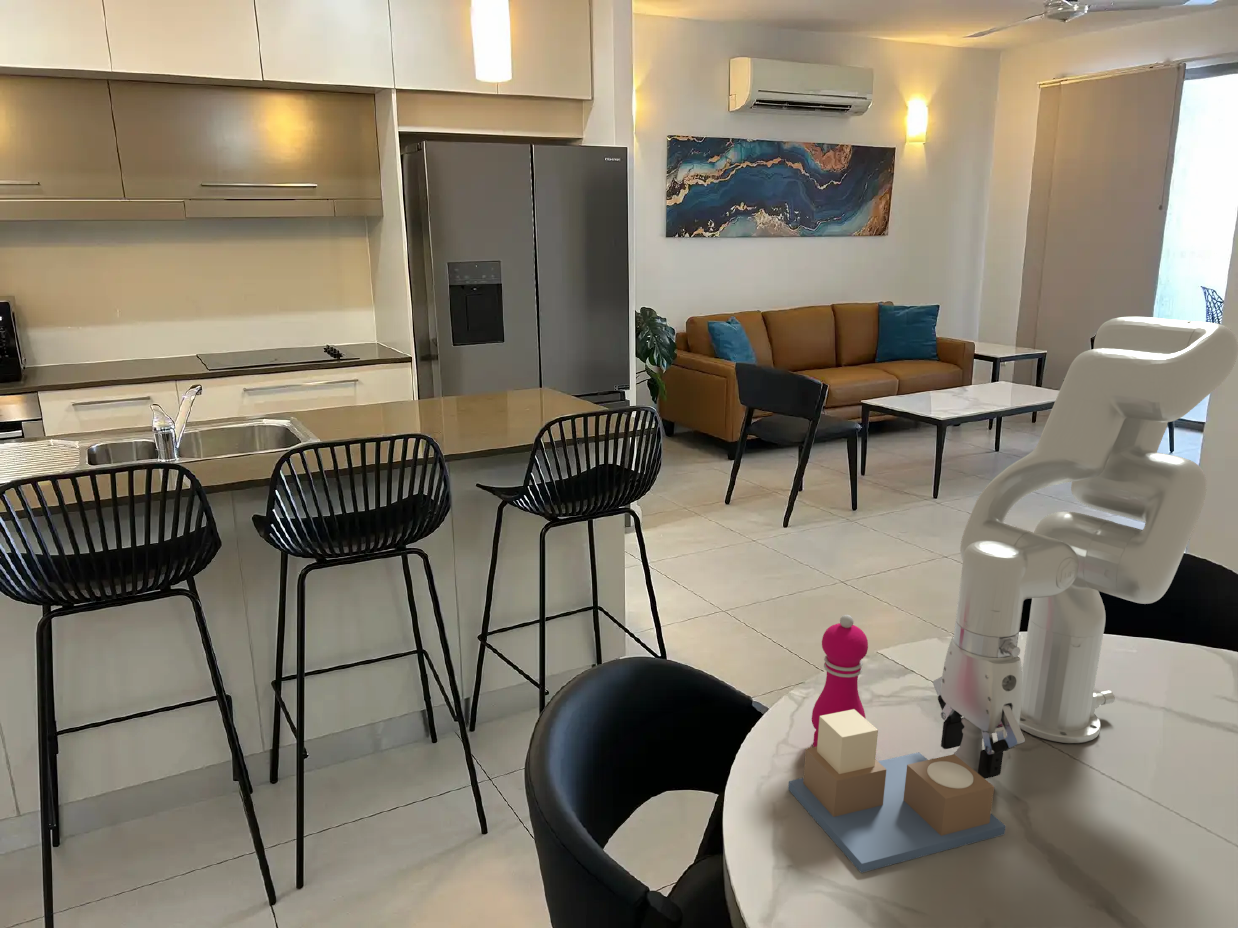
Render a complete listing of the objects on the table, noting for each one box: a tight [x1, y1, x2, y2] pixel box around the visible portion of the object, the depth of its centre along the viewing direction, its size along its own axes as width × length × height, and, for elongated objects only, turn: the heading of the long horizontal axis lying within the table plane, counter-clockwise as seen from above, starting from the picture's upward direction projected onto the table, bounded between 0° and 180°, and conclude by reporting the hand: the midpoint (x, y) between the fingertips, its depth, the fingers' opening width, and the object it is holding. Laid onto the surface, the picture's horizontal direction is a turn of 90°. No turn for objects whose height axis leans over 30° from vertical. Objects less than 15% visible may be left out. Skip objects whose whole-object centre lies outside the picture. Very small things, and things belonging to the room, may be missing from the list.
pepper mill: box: [811, 614, 869, 747], centre depth 119 cm, size 7×7×20 cm
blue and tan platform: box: [787, 709, 1006, 874], centre depth 107 cm, size 20×16×11 cm
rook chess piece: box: [953, 716, 983, 773], centre depth 116 cm, size 4×4×8 cm
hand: (969, 759), depth 117 cm, fingers open, 6 cm apart
